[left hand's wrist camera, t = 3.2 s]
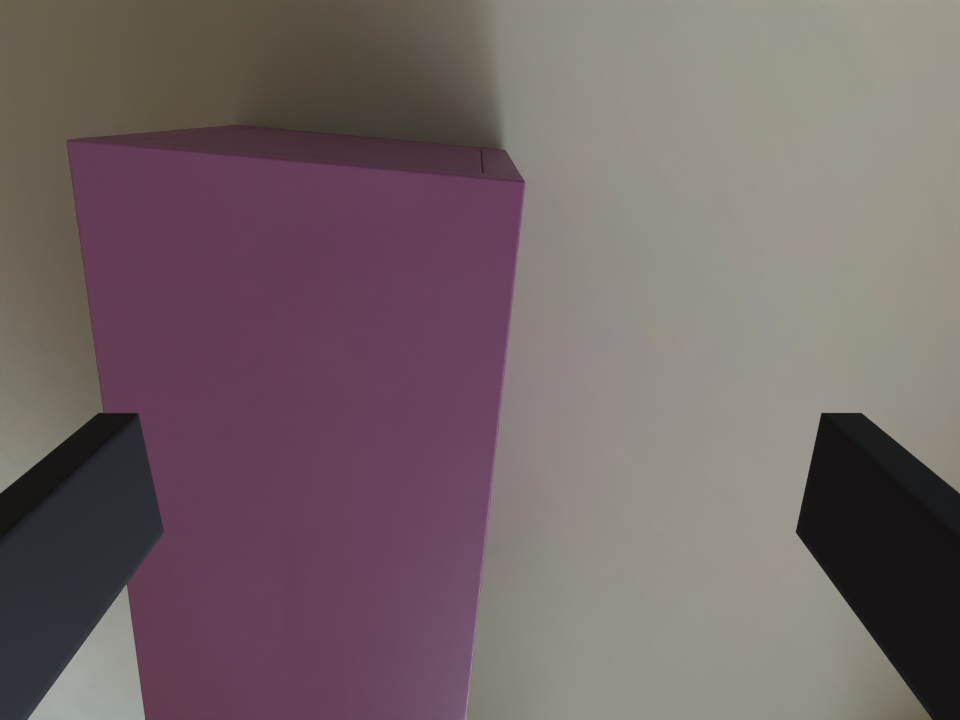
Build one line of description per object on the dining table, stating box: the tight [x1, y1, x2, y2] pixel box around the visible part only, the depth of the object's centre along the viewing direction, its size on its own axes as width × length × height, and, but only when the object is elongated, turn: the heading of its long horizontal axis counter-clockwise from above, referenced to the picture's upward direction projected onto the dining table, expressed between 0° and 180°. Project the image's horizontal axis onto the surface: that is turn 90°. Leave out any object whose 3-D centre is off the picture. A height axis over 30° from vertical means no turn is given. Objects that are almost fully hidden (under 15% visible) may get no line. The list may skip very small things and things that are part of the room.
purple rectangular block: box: [67, 125, 525, 720], centre depth 26 cm, size 21×12×12 cm, turn 175°
